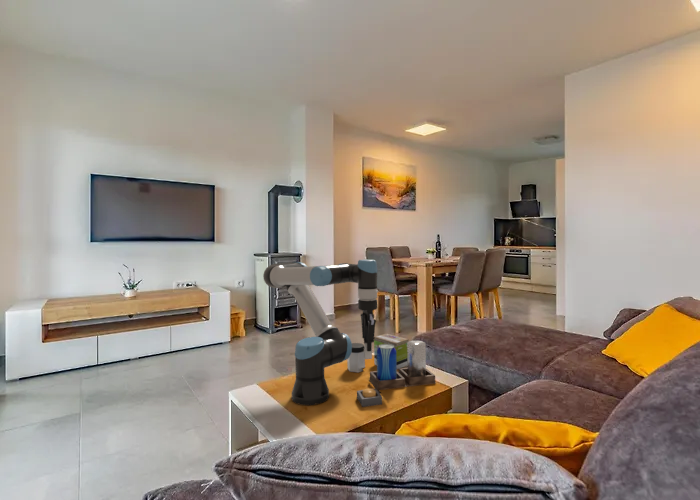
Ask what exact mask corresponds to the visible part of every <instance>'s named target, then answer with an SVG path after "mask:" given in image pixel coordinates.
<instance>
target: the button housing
mask: <svg viewBox="0 0 700 500" xmlns="http://www.w3.org/2000/svg"><path fill="white" fill-rule="evenodd" d="M373 389H374V390H375V391H376V396H375V397H367V398H364V397H363V390H364V389H360V390H356V400H357V401H358V403H359V404H360V406H361V408H366V407H371V406H372V407H373V406H380V405H381V406H382V405H383V397H382V395H381V394H379V392H378V391H377V390H376V389H375V388H373Z"/></svg>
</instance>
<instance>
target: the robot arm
mask: <svg viewBox="0 0 700 500" xmlns="http://www.w3.org/2000/svg"><path fill="white" fill-rule="evenodd" d="M378 272H379V271H378V263H377V260H375V259H359V260H358V261H357V264H356V263H348V262H344V263H343V262H342V263H338V264H334V265H333V264H330V265H314V266H313V265H312V266H308V265H307V264H306V263H305V262H301V261H292V262H281V263H279V262H278V263H273V264H269V266H267V267H266V268H265V270H264V272H263V281H264V283H265V284H266V285H267V286H268V287H270V288H273V289H282V288H286V291H287V293H289V294H290V295H293V296H294V298H295V301H296V302H297V304H298V306H299V308H300V310H301V311H302V313H303V315H304V316H305V319H306V321H307V323H308V324H309V326H310V328H311V330H312V332H313V333H314V336H311V337H305V338H303V339H302V338H301V339H300V340H299V341H298V342H297V343H296V345H295V350H294V358H295V381H294V384H293V388H292V391H291V401H292V402H293V403H295V404H297V405H301V406H315V405H320V404H322V403H325V402H326V401H327V400H329V398H330V390H329V387H328V384H327V382H326V379H325V368H328V367H331V366H335V365H337V364H341V363H343V362H344V361H347V359H348V358H349V357H350V355H351V352H352V343H353V342H352V340H351V338H350V336H349V335H348V334H347V333H344V332H340V330H339V328H338V326H334V325H332V322H331V321H330V319H329V318H328V316H327V315H326V312H325V311H324V309H323V307H322V305H321V304H320V301H319V300H318V298H317V296H316V295H315V294H314V292H313V290H312V288H311V286H315V287H325V286H330V285H332V286H333V285H338V284H345V283H356V284H357V298H358V301H357V302H358V303H357V304H358V305H357V306H358V307H357V308H358V309H359V310H360V311H362V313H360V315H359V316H360V320H361V321H360V322H361V333H362V334H361V335H362V337H361V338H362V339H363V345H364V358H365V360H372V359H373V343H374V337H375V330H376V328H375V327H376V322H377V321H376V319H375V314H374V311H376V310H377V309H378V299H377V298H378V293H379V290H378Z"/></svg>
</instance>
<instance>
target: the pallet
mask: <svg viewBox="0 0 700 500" xmlns="http://www.w3.org/2000/svg"><path fill="white" fill-rule="evenodd" d="M368 379H369V380H368V381H369V382H370V384H371V385H372V386H373V389H376V390H377V391H378V392H379V394H380V395H381V394H382V392H381V391H382V390H385V391H386V390H392V389H401V388H407V387H416V386H423V385H424V386H425V385H434V384H437V382H436V375H435V374H434V373H433V372H431V371H430V370H429V369H428V368H426V376H418V377H410V376H409V375H408V367H402V368H399V369H398V371H397V379H392V380H383V381H380V380H379V379H378V378H377V370H374V371H373V370H372V371H369V378H368Z"/></svg>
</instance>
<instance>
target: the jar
mask: <svg viewBox="0 0 700 500" xmlns="http://www.w3.org/2000/svg"><path fill="white" fill-rule="evenodd" d="M351 343H352V352H351V355H350V357H349V358H348V359H346V361H347V370H348V371H349V372H350V373H361V372H363V371H364V368H366V359H365V358H364V343H360V342H351Z"/></svg>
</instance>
